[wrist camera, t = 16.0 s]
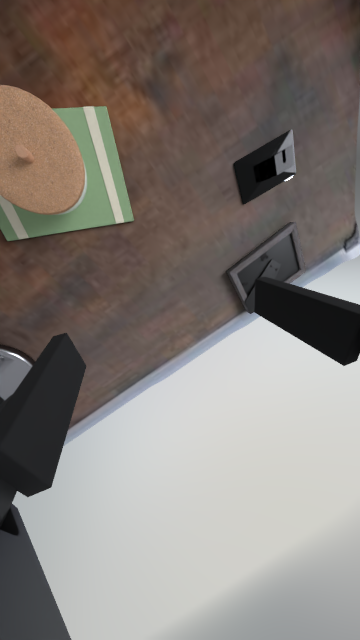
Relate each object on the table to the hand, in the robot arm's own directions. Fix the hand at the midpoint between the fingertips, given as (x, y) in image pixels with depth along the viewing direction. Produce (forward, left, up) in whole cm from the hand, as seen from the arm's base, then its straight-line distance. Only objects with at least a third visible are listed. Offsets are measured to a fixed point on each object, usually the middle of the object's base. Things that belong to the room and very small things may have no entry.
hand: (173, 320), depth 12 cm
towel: (-9, +15, -26) cm, 32 cm away
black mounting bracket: (+28, +13, -26) cm, 40 cm away
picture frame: (+30, -7, -26) cm, 40 cm away
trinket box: (-9, +15, -26) cm, 31 cm away
